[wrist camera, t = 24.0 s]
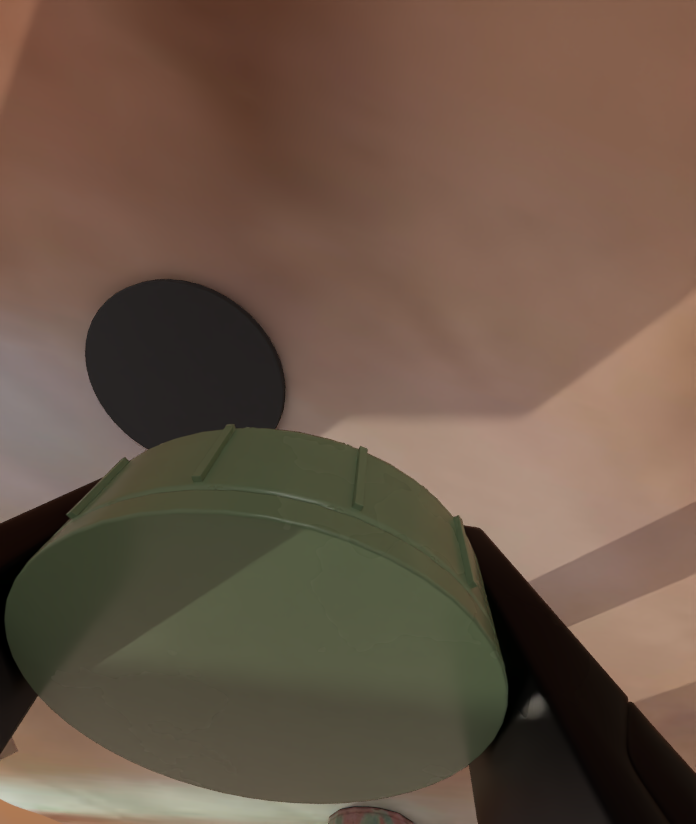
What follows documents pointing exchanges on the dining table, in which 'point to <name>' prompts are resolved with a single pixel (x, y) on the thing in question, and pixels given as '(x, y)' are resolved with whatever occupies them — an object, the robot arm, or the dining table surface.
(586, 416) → the dining table surface
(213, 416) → the coaster
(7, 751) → the beige tilted block
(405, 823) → the potted plant
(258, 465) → the lid
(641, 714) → the robot arm
